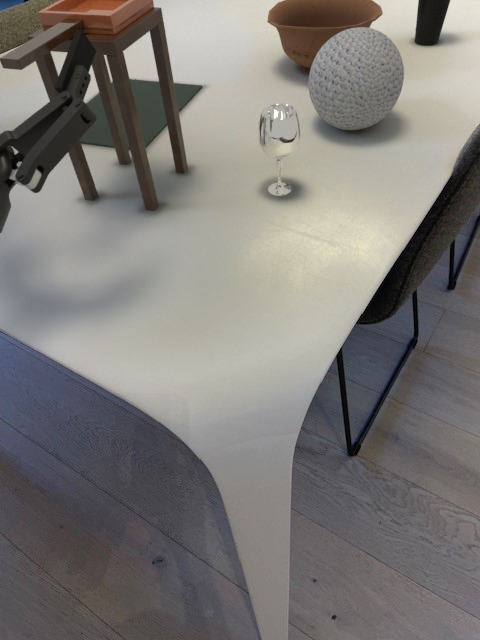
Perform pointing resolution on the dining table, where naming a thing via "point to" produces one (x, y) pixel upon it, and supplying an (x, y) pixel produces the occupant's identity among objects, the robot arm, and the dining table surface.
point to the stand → (124, 101)
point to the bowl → (317, 24)
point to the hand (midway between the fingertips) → (32, 36)
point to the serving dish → (75, 25)
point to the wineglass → (279, 138)
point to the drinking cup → (430, 21)
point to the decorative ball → (356, 78)
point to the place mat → (147, 110)
